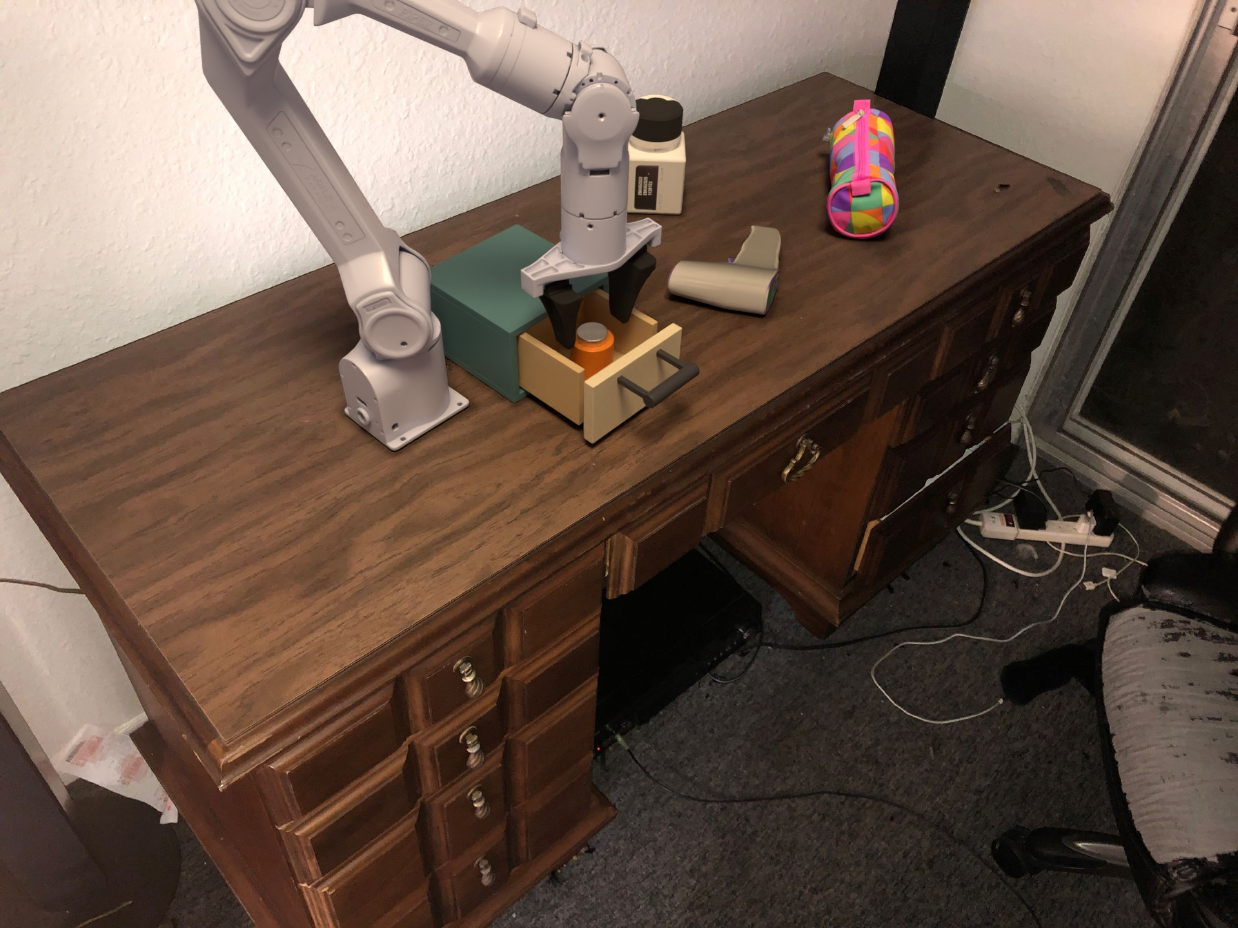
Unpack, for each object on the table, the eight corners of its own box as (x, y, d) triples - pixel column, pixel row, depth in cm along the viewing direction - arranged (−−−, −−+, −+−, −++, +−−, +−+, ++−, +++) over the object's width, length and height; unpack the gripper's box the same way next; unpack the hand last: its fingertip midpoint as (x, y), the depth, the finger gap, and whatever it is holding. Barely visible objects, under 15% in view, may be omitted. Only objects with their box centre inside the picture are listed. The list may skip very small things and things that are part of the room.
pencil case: (817, 158, 133) (829, 95, 126) (885, 165, 132) (901, 101, 126) (818, 241, 117) (832, 174, 111) (895, 248, 117) (913, 181, 110)
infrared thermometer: (782, 257, 116) (772, 321, 105) (684, 243, 118) (664, 305, 107) (788, 222, 113) (778, 285, 102) (688, 209, 115) (667, 269, 104)
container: (681, 216, 121) (689, 118, 111) (620, 214, 121) (624, 115, 111) (679, 185, 126) (687, 89, 117) (621, 183, 126) (625, 87, 117)
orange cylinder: (621, 379, 94) (623, 334, 90) (588, 395, 92) (588, 350, 89) (595, 358, 97) (596, 313, 93) (562, 373, 95) (561, 328, 91)
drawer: (713, 405, 94) (720, 349, 89) (629, 468, 87) (632, 412, 82) (588, 330, 102) (588, 275, 97) (502, 383, 95) (498, 327, 90)
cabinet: (607, 344, 102) (609, 274, 95) (514, 403, 94) (509, 333, 88) (520, 292, 108) (517, 223, 102) (427, 344, 101) (416, 274, 94)
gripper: (629, 160, 86) (624, 285, 96) (497, 209, 80) (506, 338, 89) (681, 192, 83) (670, 318, 92) (546, 245, 76) (550, 376, 86)
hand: (592, 330), depth 91 cm, fingers open, 6 cm apart
